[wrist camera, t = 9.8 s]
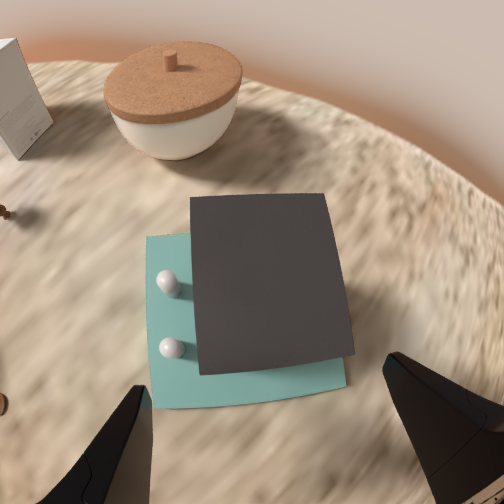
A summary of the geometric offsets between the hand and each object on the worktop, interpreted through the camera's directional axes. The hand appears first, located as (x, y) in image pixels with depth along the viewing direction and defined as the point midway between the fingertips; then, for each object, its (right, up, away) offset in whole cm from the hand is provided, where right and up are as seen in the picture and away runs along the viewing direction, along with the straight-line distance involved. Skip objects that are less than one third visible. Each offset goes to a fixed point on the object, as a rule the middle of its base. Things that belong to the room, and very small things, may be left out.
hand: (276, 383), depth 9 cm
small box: (-29, +19, +15) cm, 37 cm away
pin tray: (-1, 0, +10) cm, 11 cm away
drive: (-1, 0, +9) cm, 10 cm away
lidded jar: (-8, +15, +16) cm, 23 cm away
